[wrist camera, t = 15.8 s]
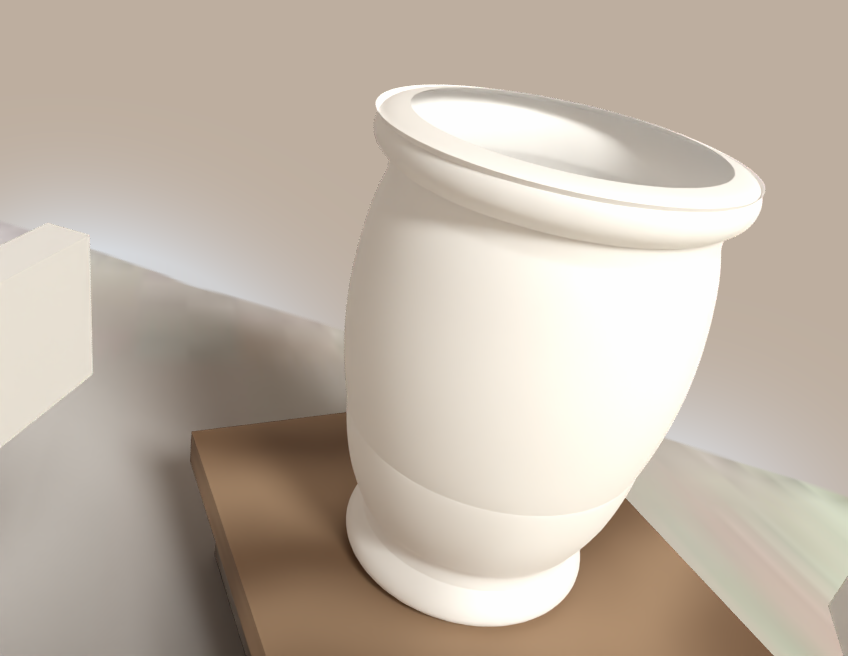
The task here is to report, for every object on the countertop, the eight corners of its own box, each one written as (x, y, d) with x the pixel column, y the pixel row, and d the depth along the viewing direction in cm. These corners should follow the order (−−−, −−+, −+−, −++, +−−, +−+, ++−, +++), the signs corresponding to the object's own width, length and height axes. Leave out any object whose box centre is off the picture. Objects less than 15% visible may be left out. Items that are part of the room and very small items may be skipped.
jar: (266, 598, 24) (318, 123, 17) (365, 420, 33) (426, 63, 26) (600, 707, 22) (812, 243, 15) (607, 491, 31) (743, 135, 24)
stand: (185, 542, 33) (191, 431, 30) (496, 483, 40) (524, 390, 37) (299, 957, 21) (326, 838, 18) (711, 764, 28) (776, 659, 25)
